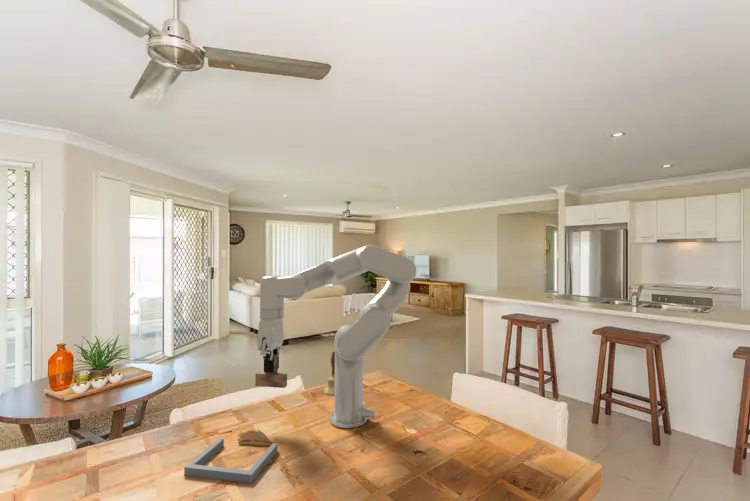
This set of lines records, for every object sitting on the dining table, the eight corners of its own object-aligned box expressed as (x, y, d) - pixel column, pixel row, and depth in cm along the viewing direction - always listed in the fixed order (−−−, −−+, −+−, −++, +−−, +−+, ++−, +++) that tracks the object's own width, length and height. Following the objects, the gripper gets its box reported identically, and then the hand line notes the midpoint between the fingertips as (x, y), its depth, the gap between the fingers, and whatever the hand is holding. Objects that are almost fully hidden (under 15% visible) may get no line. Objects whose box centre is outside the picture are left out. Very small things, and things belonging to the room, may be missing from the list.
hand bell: (319, 391, 146) (319, 351, 147) (336, 386, 152) (336, 348, 152) (331, 397, 140) (331, 356, 140) (348, 391, 146) (348, 352, 146)
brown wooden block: (287, 385, 117) (287, 354, 118) (283, 388, 114) (284, 356, 115) (259, 383, 119) (259, 353, 119) (254, 386, 116) (254, 355, 116)
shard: (272, 447, 104) (272, 441, 104) (246, 456, 99) (246, 450, 99) (258, 433, 112) (258, 427, 112) (233, 440, 107) (233, 434, 107)
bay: (277, 451, 101) (277, 444, 101) (251, 483, 86) (251, 474, 86) (218, 445, 104) (218, 438, 104) (184, 475, 89) (184, 467, 89)
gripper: (272, 309, 126) (271, 362, 126) (248, 317, 110) (247, 377, 109) (292, 310, 125) (292, 363, 124) (271, 318, 109) (270, 379, 108)
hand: (271, 369), depth 117 cm, fingers closed on brown wooden block, 3 cm apart
